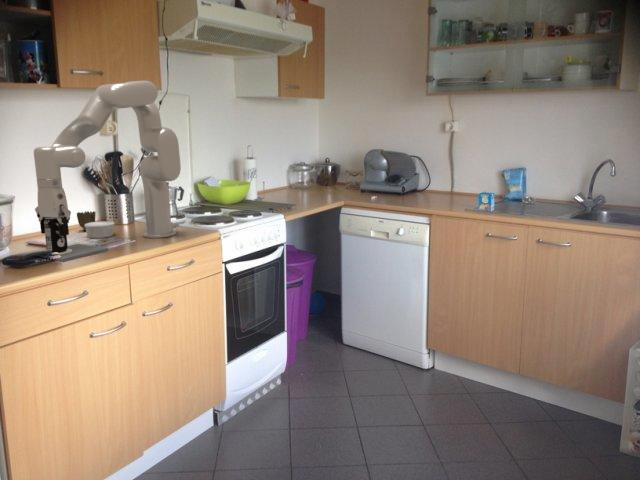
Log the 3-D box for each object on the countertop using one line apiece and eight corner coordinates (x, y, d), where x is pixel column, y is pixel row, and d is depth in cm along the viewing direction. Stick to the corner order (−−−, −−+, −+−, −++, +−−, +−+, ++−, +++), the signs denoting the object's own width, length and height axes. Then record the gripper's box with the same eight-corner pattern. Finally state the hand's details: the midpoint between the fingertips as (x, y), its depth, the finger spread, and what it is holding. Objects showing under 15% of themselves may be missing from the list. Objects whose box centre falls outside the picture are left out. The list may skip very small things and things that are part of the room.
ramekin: (119, 233, 231) (118, 221, 230) (109, 239, 221) (108, 226, 219) (92, 233, 232) (91, 221, 231) (80, 239, 221) (79, 226, 220)
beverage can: (70, 249, 198) (67, 215, 195) (63, 253, 191) (59, 218, 189) (51, 249, 197) (48, 215, 195) (43, 253, 191) (40, 218, 189)
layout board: (77, 246, 208) (77, 243, 208) (107, 250, 200) (107, 247, 200) (32, 256, 192) (32, 253, 192) (63, 261, 185) (62, 258, 184)
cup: (79, 229, 240) (77, 211, 238) (98, 228, 242) (96, 210, 240) (76, 233, 233) (75, 214, 231) (96, 232, 234) (94, 213, 233)
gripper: (76, 184, 188) (81, 234, 192) (43, 181, 197) (48, 230, 200) (56, 186, 182) (61, 238, 186) (23, 184, 190) (29, 233, 194)
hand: (55, 234), depth 193 cm, fingers open, 9 cm apart
